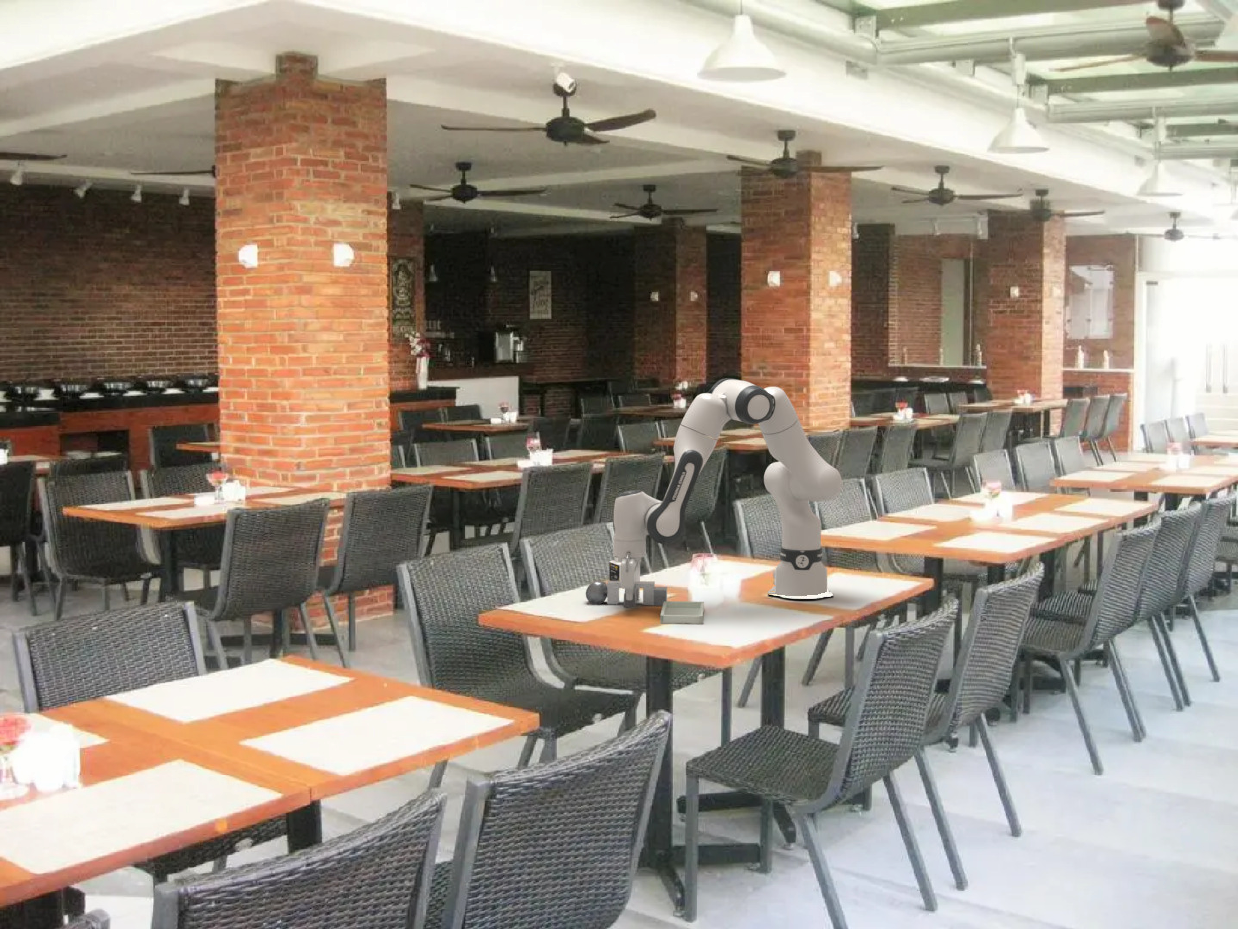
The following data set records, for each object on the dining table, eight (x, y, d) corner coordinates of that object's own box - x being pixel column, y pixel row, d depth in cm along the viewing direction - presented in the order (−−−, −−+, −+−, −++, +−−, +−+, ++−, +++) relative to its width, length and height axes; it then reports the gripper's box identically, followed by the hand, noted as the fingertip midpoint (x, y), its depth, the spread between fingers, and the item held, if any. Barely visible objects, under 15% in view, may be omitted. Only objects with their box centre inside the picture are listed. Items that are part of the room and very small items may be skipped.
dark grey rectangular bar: (625, 597, 381) (625, 584, 381) (639, 598, 381) (639, 584, 381) (622, 607, 367) (622, 592, 367) (636, 607, 367) (636, 593, 367)
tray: (663, 608, 366) (663, 601, 366) (703, 609, 365) (703, 601, 365) (660, 623, 346) (660, 615, 346) (702, 624, 345) (702, 616, 345)
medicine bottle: (608, 584, 404) (609, 544, 403) (630, 582, 407) (630, 543, 406) (618, 587, 397) (618, 548, 396) (640, 586, 400) (640, 546, 399)
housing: (587, 601, 376) (587, 580, 376) (667, 602, 374) (667, 581, 374) (585, 604, 371) (585, 583, 371) (666, 605, 370) (666, 584, 369)
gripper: (638, 555, 354) (638, 606, 355) (643, 544, 374) (643, 592, 375) (615, 555, 354) (615, 606, 356) (620, 543, 375) (620, 592, 376)
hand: (629, 599), depth 366 cm, fingers closed
